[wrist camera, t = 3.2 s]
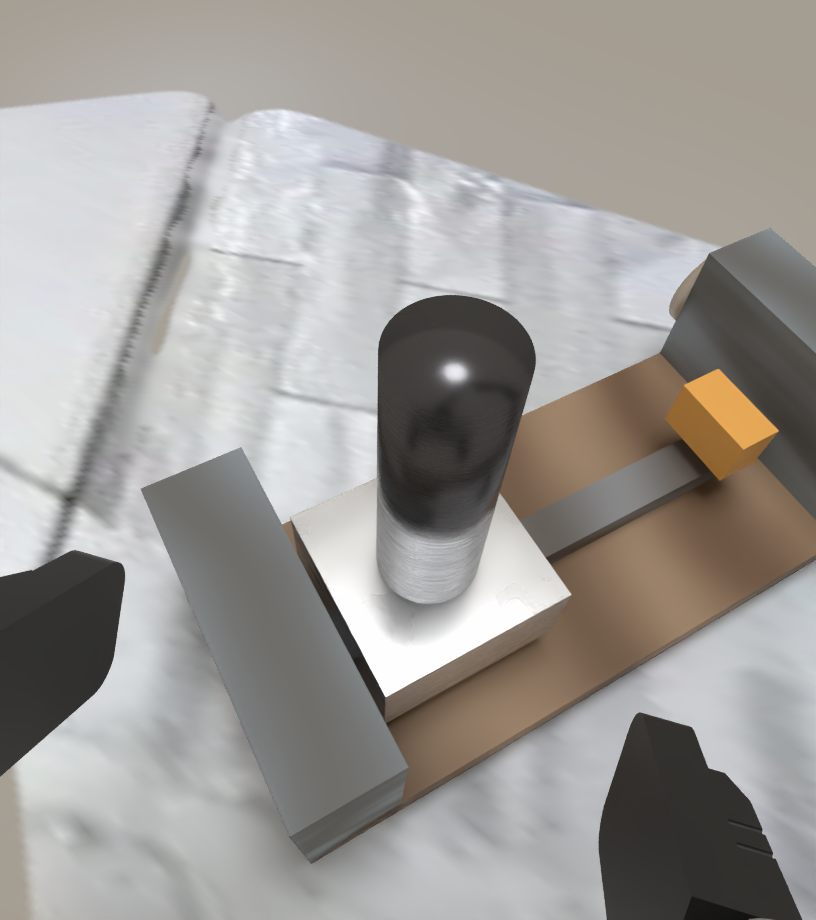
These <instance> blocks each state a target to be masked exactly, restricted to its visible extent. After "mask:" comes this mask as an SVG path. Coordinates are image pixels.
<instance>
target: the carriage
mask: <svg viewBox="0 0 816 920" xmlns="http://www.w3.org/2000/svg"><path fill="white" fill-rule="evenodd" d="M535 364H536V355H535V350H534V346H533V343H532V340H531V338H530V336H529V335H528V333H527V331H526V330H525V329H524V327H523V326H522V325H521V324H520V323H519V321H518V320H517V319H515V318H514V317H513V316H512V315H511V314H509V313H508V312H506V311H505V310H503V309H502V308H500V307H498V306H496V305H494V304H492V303H489V302H487V301H484V300H481V299H477V298H473V297H468V296H459V295H444V296H435V297H430V298H426V299H423V300H420V301H417V302H415V303H413V304H411V305H409V306H407V307H405V308H404V309H402V310H401V311H400V312H398V313H397V314H396V315H395V316H394V317H393V318H392V319H391V320H390V321H389V323H388V324H387V325H386V327H385V329H384V330H383V332H382V335H381V338H380V341H379V348H378V424H377V478H376V479H374V480H371V481H369V482H367V483H365V484H363V485H360V486H358V487H356V488H354V489H352V490H349V491H347V492H345V493H343V494H341V495H338V496H336V497H334V498H332V499H329V500H327V501H325V502H323V503H321V504H318V505H316V506H314V507H312V508H310V509H307V510H305V511H303V512H301V513H299V514H296V515H294V516H292V517H290V519H291V524H292V529H293V534H294V539H295V545H296V550H297V555H298V557H299V559H300V561H301V562H302V564H303V566H304V568H305V570H306V572H307V574H308V576H309V578H310V580H311V582H312V583H313V585H314V587H315V589H316V591H317V593H318V595H319V597H320V599H321V601H322V603H323V605H324V606H325V608H326V610H327V612H328V614H329V616H330V618H331V620H332V622H333V624H334V626H335V627H336V629H337V631H338V633H339V635H340V637H341V639H342V641H343V643H344V645H345V647H346V648H347V650H348V652H349V654H350V656H351V658H352V660H353V662H354V664H355V666H356V668H357V669H358V671H359V673H360V675H361V677H362V679H363V681H364V683H365V685H366V687H367V689H368V691H369V692H370V694H371V696H372V698H373V700H374V702H375V704H376V706H377V708H378V710H379V712H380V713H381V715H382V717H383V719H384V721H385V723H387V722H389V721H391V720H393V719H394V718H396V717H398V716H400V715H402V714H403V713H405V712H407V711H409V710H411V709H412V708H414V707H416V706H418V705H419V704H421V703H423V702H425V701H427V700H428V699H430V698H432V697H434V696H435V695H437V694H439V693H441V692H443V691H444V690H446V689H448V688H450V687H452V686H453V685H455V684H457V683H459V682H460V681H462V680H464V679H466V678H468V677H469V676H471V675H473V674H475V673H476V672H478V671H480V670H482V669H484V668H485V667H487V666H489V665H491V664H493V663H494V662H496V661H498V660H500V659H501V658H503V657H505V656H507V655H509V654H510V653H512V652H514V651H516V650H517V649H519V648H521V647H523V646H525V645H526V644H528V643H530V642H532V641H534V640H535V639H537V638H539V637H541V636H542V635H544V634H546V633H548V632H550V631H551V629H552V628H553V626H554V624H555V622H556V621H557V619H558V617H559V616H560V614H561V612H562V610H563V609H564V607H565V605H566V603H567V602H568V600H569V598H570V597H571V593H570V592H569V590H568V589H567V587H566V586H565V585H564V583H563V582H562V580H561V579H560V578H559V576H558V575H557V573H556V572H555V570H554V569H553V568H552V566H551V565H550V563H549V562H548V561H547V559H546V558H545V556H544V555H543V553H542V552H541V551H540V549H539V548H538V546H537V545H536V544H535V542H534V541H533V539H532V538H531V536H530V535H529V534H528V532H527V531H526V529H525V528H524V527H523V525H522V524H521V522H520V521H519V519H518V518H517V517H516V515H515V514H514V512H513V511H512V510H511V508H510V507H509V505H508V504H507V502H506V501H505V500H504V498H503V497H502V495H501V494H500V490H501V486H502V483H503V479H504V476H505V472H506V469H507V465H508V462H509V458H510V455H511V451H512V448H513V444H514V441H515V437H516V434H517V430H518V427H519V423H520V420H521V416H522V413H523V409H524V406H525V402H526V399H527V395H528V392H529V388H530V385H531V381H532V378H533V374H534V370H535Z"/></svg>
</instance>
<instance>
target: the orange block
mask: <svg viewBox="0 0 816 920" xmlns="http://www.w3.org/2000/svg"><path fill="white" fill-rule="evenodd" d="M665 420H666V421H667V422H668V423H669V424H670V425H671V426H672V428H673V429H674V430H675V431H676V432H677V433H678V434H679V435H680V437H681V438H682V439H683V440H684V441H685V442H686V443H687V444H688V446H689V447H690V448H691V449H692V450H693V451H694V452H695V454H696V455H697V456H698V457H699V458H700V459H701V460H702V461H703V463H704V464H705V465H706V466H707V467H708V468H709V469H710V470H711V472H712V473H713V474H714V475H715V476H716V477H717V478H718V479H719V481H720V480H722V479H724V478H726V477H728V476H730V475H732V474H733V473H735V472H737V471H739V470H741V469H743V468H745V467H747V466H748V465H750V464H752V463H754V462H755V460H756V459H757V458H758V457H759V455H760V454H761V453H762V452H763V450H764V449H765V448H766V447H767V445H768V444H769V443H770V442H771V440H772V439H773V438H774V437H775V435H776V434H777V433H778V432H779V430H778V429H777V428H776V427H775V426H774V425H773V424H772V423H771V422H770V421H769V420H768V419H767V418H766V417H765V416H764V415H763V414H762V413H761V412H760V411H759V410H758V409H757V408H756V407H755V406H754V405H753V404H752V402H751V401H750V400H749V399H748V398H747V397H746V396H745V395H744V394H743V393H742V392H741V391H740V390H739V389H738V388H737V387H736V386H735V385H734V384H733V383H732V382H731V381H730V380H729V379H728V378H727V377H726V376H725V375H724V374H723V373H722V372H721V371H720V369H717V370H715V371H712V372H710V373H708V374H706V375H704V376H702V377H700V378H698V379H696V380H693V381H691V382H689V383H687V384H685V385H684V386H683V387H682V389H681V391H680V393H679V394H678V396H677V398H676V400H675V401H674V403H673V405H672V407H671V409H670V410H669V412H668V414H667V416H666V417H665Z"/></svg>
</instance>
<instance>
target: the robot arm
mask: <svg viewBox="0 0 816 920" xmlns="http://www.w3.org/2000/svg"><path fill="white" fill-rule="evenodd" d="M124 583H125V571H124V567H123V565H122V564H121V563H119V562H115V561H112V560H108V559H105V558H101V557H98V556H94V555H91V554H87V553H84V552H80V551H76V550H74V551H70V552H68V553H66V554H64V555H62V556H60V557H58V558H57V559H55V560H53V561H51V562H49V563H47V564H45V565H43V566H41V567H39V568H37V569H35V570H34V571H32V570H30V571H25V572H21V573H16V574H12V575H8V576H3V577H0V776H1V775H3V774H4V773H5V772H6V771H7V770H8V769H9V768H11V767H12V766H13V765H14V764H15V763H16V762H17V761H19V760H20V759H21V758H22V757H23V756H24V755H25V754H27V753H28V752H29V751H30V750H31V749H32V748H33V747H35V746H36V745H37V744H38V743H39V742H40V741H41V740H43V739H44V738H45V737H46V736H47V735H48V734H49V733H51V732H52V731H53V730H54V729H55V728H56V727H57V726H59V725H60V724H61V723H62V722H63V721H64V720H65V719H67V718H68V717H69V716H70V715H71V714H72V713H73V712H75V711H76V710H77V709H78V708H79V707H80V706H81V705H83V704H84V703H85V702H86V701H87V700H88V699H89V698H91V697H92V696H93V695H94V694H95V693H96V692H97V690H98V689H99V688H100V687H101V685H102V684H103V682H104V680H105V678H106V676H107V674H108V672H109V670H110V667H111V664H112V661H113V657H114V652H115V645H116V638H117V631H118V624H119V618H120V611H121V604H122V597H123V590H124ZM762 830H763V829H762V827H761V824H760V822H759V820H758V818H757V815H756V813H755V811H754V809H753V806H752V804H751V802H750V800H749V799H748V798H747V797H746V796H745V795H744V794H743V793H742V792H741V790H740V789H739V788H738V787H737V786H736V785H735V784H734V783H733V782H732V781H731V779H730V778H729V777H728V776H727V775H726V774H725V773H723V772H719V771H716V770H712V769H709V768H708V766H707V764H706V761H705V758H704V756H703V753H702V751H701V748H700V745H699V743H698V740H697V737H696V735H695V732H694V730H693V729H692V727H689V726H686V725H682V724H679V723H675V722H672V721H668V720H665V719H661V718H658V717H654V716H651V715H647V714H644V713H638V714H636V716H635V717H634V719H633V721H632V723H631V725H630V728H629V731H628V734H627V737H626V740H625V743H624V746H623V749H622V753H621V756H620V759H619V762H618V765H617V768H616V771H615V774H614V777H613V780H612V783H611V786H610V789H609V792H608V795H607V798H606V802H605V805H604V809H603V813H602V818H601V823H600V831H599V856H600V865H601V873H602V882H603V890H604V899H605V907H606V915H607V920H802V918H801V916H800V913H799V911H798V909H797V907H796V904H795V902H794V900H793V898H792V895H791V893H790V891H789V888H788V886H787V884H786V882H785V879H784V877H783V875H782V872H781V870H780V868H779V866H778V863H777V861H776V859H773V858H772V855H773V852H772V850H771V847H770V845H769V843H768V840H767V838H766V836H765V835H763V834H762Z"/></svg>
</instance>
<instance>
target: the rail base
mask: <svg viewBox="0 0 816 920" xmlns="http://www.w3.org/2000/svg"><path fill="white" fill-rule="evenodd" d="M669 313H670V315H671V316H672V317H673V318H674V319H675V320H676V322H675V324H674V326H673V328H672V330H671V332H670V334H669V336H668V338H667V340H666V342H665V344H664V346H663V348H662V350H661V352H660V353H659V354H657V355H655V356H653V357H650V358H648V359H646V360H644V361H642V362H639V363H637V364H635V365H633V366H631V367H628V368H626V369H624V370H622V371H620V372H617V373H615V374H613V375H611V376H609V377H606V378H604V379H602V380H600V381H598V382H595V383H593V384H591V385H589V386H587V387H584V388H582V389H580V390H578V391H576V392H573V393H571V394H569V395H567V396H564V397H562V398H560V399H558V400H556V401H553V402H551V403H549V404H547V405H545V406H542V407H540V408H538V409H536V410H534V411H531V412H529V413H527V414H525V415H523V416H521V420H520V423H519V427H518V430H517V434H516V437H515V441H514V444H513V448H512V451H511V455H510V458H509V462H508V465H507V469H506V472H505V476H504V479H503V483H502V486H501V490H500V494H501V495H502V497H503V498H504V500H505V501H506V502H507V504H508V505H509V507H510V508H511V510H512V511H513V512H514V514H515V515H516V517H517V518H518V519H519V521H520V522H521V524H522V525H523V527H524V528H525V529H526V531H527V532H528V534H529V535H530V536H531V538H532V539H533V541H534V542H535V544H536V545H537V546H538V548H539V549H540V551H541V552H542V553H543V555H544V556H545V558H546V559H547V561H548V562H549V563H550V565H551V566H552V568H553V569H554V570H555V572H556V573H557V575H558V576H559V578H560V579H561V580H562V582H563V583H564V585H565V586H566V587H567V589H568V590H569V592H570V593H571V597H570V598H569V600H568V602H567V603H566V605H565V607H564V609H563V610H562V612H561V614H560V616H559V617H558V619H557V621H556V622H555V624H554V626H553V628H552V629H551V631H550V632H548V633H546V634H544V635H542V636H541V637H539V638H537V639H535V640H534V641H532V642H530V643H528V644H526V645H525V646H523V647H521V648H519V649H517V650H516V651H514V652H512V653H510V654H509V655H507V656H505V657H503V658H501V659H500V660H498V661H496V662H494V663H493V664H491V665H489V666H487V667H485V668H484V669H482V670H480V671H478V672H476V673H475V674H473V675H471V676H469V677H468V678H466V679H464V680H462V681H460V682H459V683H457V684H455V685H453V686H452V687H450V688H448V689H446V690H444V691H443V692H441V693H439V694H437V695H435V696H434V697H432V698H430V699H428V700H427V701H425V702H423V703H421V704H419V705H418V706H416V707H414V708H412V709H411V710H409V711H407V712H405V713H403V714H402V715H400V716H398V717H396V718H394V719H393V720H391V721H389V722H387V723H385V721H384V719H383V717H382V715H381V713H380V712H379V710H378V708H377V706H376V704H375V702H374V700H373V698H372V696H371V694H370V692H369V691H368V689H367V687H366V685H365V683H364V681H363V679H362V677H361V675H360V673H359V671H358V669H357V668H356V666H355V664H354V662H353V660H352V658H351V656H350V654H349V652H348V650H347V648H346V647H345V645H344V643H343V641H342V639H341V637H340V635H339V633H338V631H337V629H336V627H335V626H334V624H333V622H332V620H331V618H330V616H329V614H328V612H327V610H326V608H325V606H324V605H323V603H322V601H321V599H320V597H319V595H318V593H317V591H316V589H315V587H314V585H313V583H312V582H311V580H310V578H309V576H308V574H307V572H306V570H305V568H304V566H303V564H302V562H301V561H300V559H299V557H298V555H297V550H296V545H295V539H294V534H293V529H292V524H291V521H289V522H287V523H285V524H281V522H280V520H279V518H278V517H277V515H276V513H275V511H274V509H273V507H272V505H271V503H270V501H269V499H268V497H267V496H266V494H265V492H264V490H263V488H262V486H261V484H260V482H259V480H258V478H257V476H256V475H255V473H254V471H253V469H252V467H251V465H250V463H249V461H248V459H247V457H246V455H245V454H244V452H243V450H242V448H238V449H236V450H233V451H231V452H228V453H226V454H224V455H221V456H219V457H216V458H214V459H212V460H209V461H207V462H204V463H202V464H199V465H197V466H195V467H192V468H190V469H187V470H185V471H183V472H180V473H178V474H175V475H173V476H171V477H168V478H166V479H163V480H161V481H158V482H156V483H154V484H151V485H149V486H146V487H144V488H142V489H141V491H142V493H143V495H144V498H145V500H146V502H147V505H148V507H149V509H150V512H151V514H152V516H153V519H154V521H155V523H156V526H157V528H158V530H159V533H160V535H161V538H162V540H163V542H164V545H165V547H166V549H167V552H168V554H169V556H170V559H171V561H172V563H173V566H174V568H175V570H176V573H177V575H178V577H179V580H180V582H181V584H182V587H183V589H184V591H185V594H186V596H187V598H188V601H189V603H190V605H191V608H192V610H193V612H194V615H195V617H196V619H197V622H198V624H199V626H200V629H201V631H202V633H203V636H204V638H205V640H206V643H207V645H208V647H209V650H210V652H211V654H212V657H213V659H214V661H215V664H216V666H217V668H218V671H219V673H220V675H221V678H222V680H223V682H224V685H225V687H226V689H227V692H228V694H229V696H230V699H231V701H232V703H233V706H234V708H235V710H236V713H237V715H238V718H239V720H240V722H241V725H242V727H243V729H244V732H245V734H246V736H247V739H248V741H249V743H250V746H251V748H252V750H253V753H254V755H255V757H256V760H257V762H258V764H259V767H260V769H261V771H262V774H263V776H264V778H265V781H266V783H267V785H268V788H269V790H270V792H271V795H272V797H273V799H274V802H275V804H276V806H277V809H278V811H279V813H280V816H281V818H282V820H283V823H284V825H285V827H286V830H287V832H288V834H289V837H290V838H291V839H292V841H293V842H294V843H295V844H296V845H297V847H298V848H299V849H300V850H301V852H302V853H303V854H304V855H305V856H306V858H307V859H308V860H309V861H310V863H313V862H315V861H316V860H318V859H320V858H321V857H323V856H325V855H326V854H328V853H330V852H331V851H333V850H335V849H336V848H338V847H340V846H341V845H343V844H345V843H346V842H348V841H350V840H351V839H353V838H355V837H356V836H358V835H360V834H361V833H363V832H365V831H366V830H368V829H370V828H371V827H373V826H374V825H376V824H378V823H379V822H381V821H383V820H384V819H386V818H388V817H389V816H391V815H393V814H394V813H396V812H398V811H399V810H401V809H403V808H404V807H406V806H408V805H409V804H411V803H413V802H414V801H416V800H418V799H419V798H421V797H423V796H424V795H426V794H428V793H429V792H431V791H433V790H434V789H436V788H438V787H439V786H441V785H443V784H444V783H446V782H448V781H449V780H451V779H452V778H454V777H456V776H457V775H459V774H461V773H462V772H464V771H466V770H467V769H469V768H471V767H472V766H474V765H476V764H477V763H479V762H481V761H482V760H484V759H486V758H487V757H489V756H491V755H492V754H494V753H496V752H497V751H499V750H501V749H502V748H504V747H506V746H507V745H509V744H511V743H512V742H514V741H516V740H517V739H519V738H521V737H522V736H524V735H525V734H527V733H529V732H530V731H532V730H534V729H535V728H537V727H539V726H540V725H542V724H544V723H545V722H547V721H549V720H550V719H552V718H554V717H555V716H557V715H559V714H560V713H562V712H564V711H565V710H567V709H569V708H570V707H572V706H574V705H575V704H577V703H579V702H580V701H582V700H584V699H585V698H587V697H589V696H590V695H592V694H594V693H595V692H597V691H599V690H600V689H602V688H603V687H605V686H607V685H608V684H610V683H612V682H613V681H615V680H617V679H618V678H620V677H622V676H623V675H625V674H627V673H628V672H630V671H632V670H633V669H635V668H637V667H638V666H640V665H642V664H643V663H645V662H647V661H648V660H650V659H652V658H653V657H655V656H657V655H658V654H660V653H662V652H663V651H665V650H667V649H668V648H670V647H672V646H673V645H675V644H676V643H678V642H680V641H681V640H683V639H685V638H686V637H688V636H690V635H691V634H693V633H695V632H696V631H698V630H700V629H701V628H703V627H705V626H706V625H708V624H710V623H711V622H713V621H715V620H716V619H718V618H720V617H721V616H723V615H725V614H726V613H728V612H730V611H731V610H733V609H735V608H736V607H738V606H740V605H741V604H743V603H745V602H746V601H748V600H749V599H751V598H753V597H754V596H756V595H758V594H759V593H761V592H763V591H764V590H766V589H768V588H769V587H771V586H773V585H774V584H776V583H778V582H779V581H781V580H783V579H784V578H786V577H788V576H789V575H791V574H793V573H794V572H796V571H798V570H799V569H801V568H803V567H804V566H806V565H808V564H809V563H811V562H813V561H814V560H816V267H815V266H813V265H812V264H811V263H810V262H809V261H808V260H806V259H805V258H804V257H803V256H802V255H801V254H800V253H798V252H797V251H796V250H795V249H794V248H793V247H792V246H790V245H789V244H788V243H787V242H786V241H785V240H783V239H782V238H781V237H780V236H779V235H778V234H777V233H775V232H774V231H773V230H772V229H771V228H769V229H766V230H764V231H762V232H760V233H757V234H755V235H752V236H750V237H747V238H745V239H742V240H740V241H738V242H735V243H733V244H730V245H728V246H725V247H723V248H721V249H718V250H716V251H713V252H711V253H709V255H708V257H707V259H706V260H705V261H704V262H703V263H701V264H700V265H699V266H698V267H697V268H696V269H695V270H694V271H693V272H692V273H691V274H690V275H689V276H688V277H687V278H686V279H685V280H684V281H683V283H682V284H681V285H680V287H679V288H678V289H677V291H676V293H675V294H674V296H673V298H672V300H671V303H670V307H669ZM717 369H720V371H721V372H722V373H723V374H724V375H725V376H726V377H727V378H728V379H729V380H730V381H731V382H732V383H733V384H734V385H735V386H736V387H737V388H738V389H739V390H740V391H741V392H742V393H743V394H744V395H745V396H746V397H747V398H748V399H749V400H750V401H751V402H752V404H753V405H754V406H755V407H756V408H757V409H758V410H759V411H760V412H761V413H762V414H763V415H764V416H765V417H766V418H767V419H768V420H769V421H770V422H771V423H772V424H773V425H774V426H775V427H776V428H777V429H778V430H779V432H778V433H777V434H776V435H775V437H774V438H773V439H772V440H771V442H770V443H769V444H768V445H767V447H766V448H765V449H764V450H763V452H762V453H761V454H760V455H759V457H758V458H757V459H756V460H755V462H754V463H752V464H750V465H748V466H747V467H745V468H743V469H741V470H739V471H737V472H735V473H733V474H732V475H730V476H728V477H726V478H724V479H722V480H720V481H719V479H718V478H717V477H716V476H715V475H714V474H713V473H712V472H711V470H710V469H709V468H708V467H707V466H706V465H705V464H704V463H703V461H702V460H701V459H700V458H699V457H698V456H697V455H696V454H695V452H694V451H693V450H692V449H691V448H690V447H689V446H688V444H687V443H686V442H685V441H684V440H683V439H682V438H681V437H680V435H679V434H678V433H677V432H676V431H675V430H674V429H673V428H672V426H671V425H670V424H669V423H668V422H667V421H666V420H665V417H666V416H667V414H668V412H669V410H670V409H671V407H672V405H673V403H674V401H675V400H676V398H677V396H678V394H679V393H680V391H681V389H682V387H683V386H684V385H685V384H687V383H689V382H691V381H693V380H696V379H698V378H700V377H702V376H704V375H706V374H708V373H710V372H712V371H715V370H717Z"/></svg>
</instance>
